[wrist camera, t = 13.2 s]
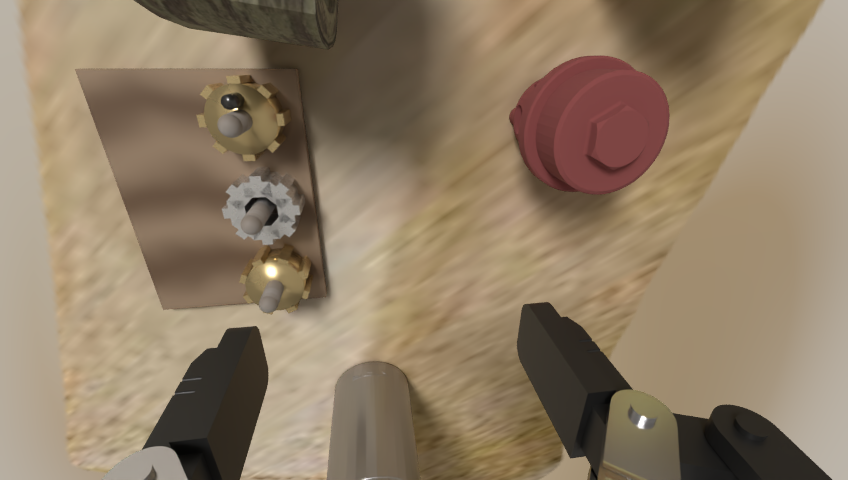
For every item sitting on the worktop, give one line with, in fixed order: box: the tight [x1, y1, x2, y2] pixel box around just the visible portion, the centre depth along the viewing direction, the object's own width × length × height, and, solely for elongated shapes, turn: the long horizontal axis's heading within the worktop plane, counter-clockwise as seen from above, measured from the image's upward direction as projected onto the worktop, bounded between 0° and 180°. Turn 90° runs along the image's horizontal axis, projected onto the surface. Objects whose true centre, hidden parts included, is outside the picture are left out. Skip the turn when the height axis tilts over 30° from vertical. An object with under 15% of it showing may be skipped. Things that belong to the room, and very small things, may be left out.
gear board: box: [75, 69, 327, 313], centre depth 31 cm, size 22×16×7 cm
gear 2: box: [239, 244, 313, 314], centre depth 36 cm, size 6×6×3 cm
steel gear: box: [222, 167, 305, 245], centre depth 33 cm, size 6×6×3 cm
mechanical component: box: [509, 56, 669, 194], centre depth 30 cm, size 12×10×10 cm
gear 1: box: [196, 75, 291, 161], centre depth 29 cm, size 6×6×5 cm
